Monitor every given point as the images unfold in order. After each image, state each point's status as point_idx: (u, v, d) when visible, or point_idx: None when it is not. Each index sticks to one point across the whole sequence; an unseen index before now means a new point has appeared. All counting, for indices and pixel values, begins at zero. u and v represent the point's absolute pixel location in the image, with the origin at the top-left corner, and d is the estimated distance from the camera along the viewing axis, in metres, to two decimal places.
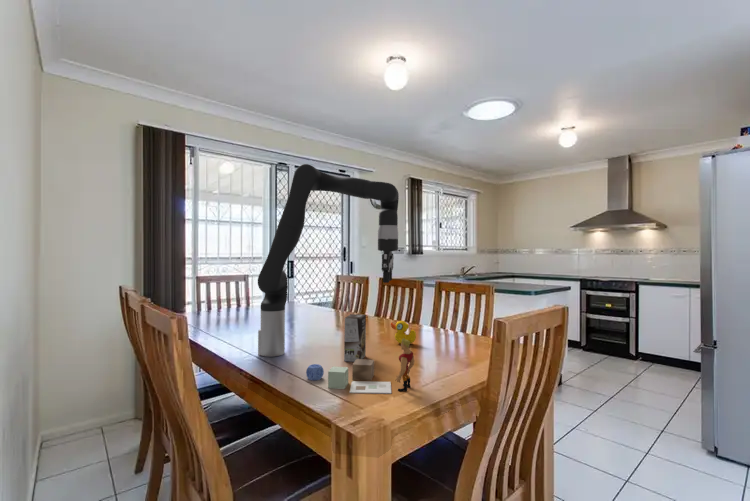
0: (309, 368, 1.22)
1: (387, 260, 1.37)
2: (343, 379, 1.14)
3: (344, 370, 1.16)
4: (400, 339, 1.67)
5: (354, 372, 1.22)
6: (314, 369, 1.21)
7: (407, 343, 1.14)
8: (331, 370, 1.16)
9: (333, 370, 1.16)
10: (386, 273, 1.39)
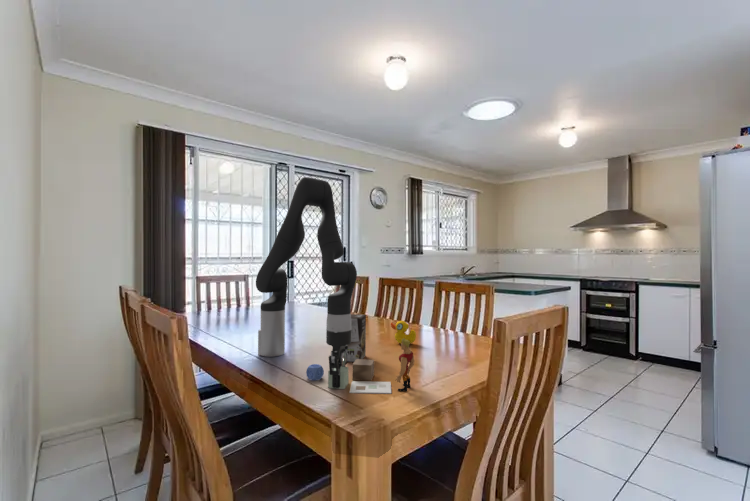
0: (309, 368, 1.22)
1: (335, 364, 1.11)
2: (343, 379, 1.14)
3: (344, 370, 1.16)
4: (400, 339, 1.67)
5: (354, 372, 1.22)
6: (314, 369, 1.21)
7: (407, 343, 1.14)
8: None
9: None
10: (336, 377, 1.13)
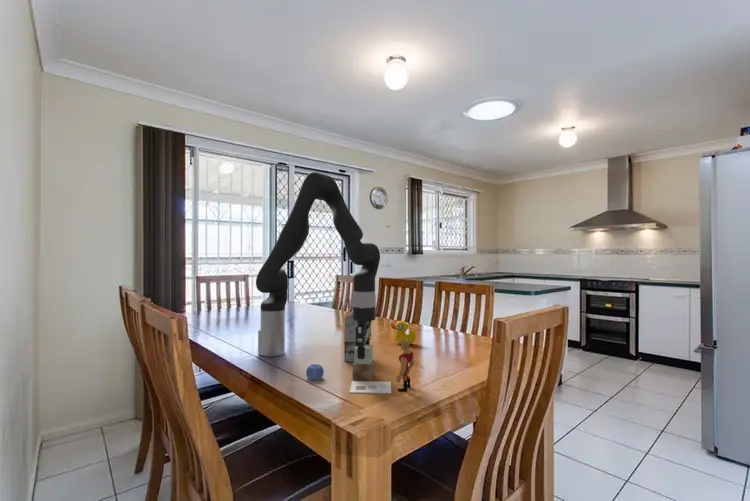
0: (309, 368, 1.22)
1: (362, 334, 1.18)
2: (368, 355, 1.22)
3: (369, 347, 1.24)
4: (400, 339, 1.67)
5: (354, 372, 1.22)
6: (314, 369, 1.21)
7: (407, 343, 1.14)
8: (357, 347, 1.24)
9: None
10: (361, 348, 1.20)
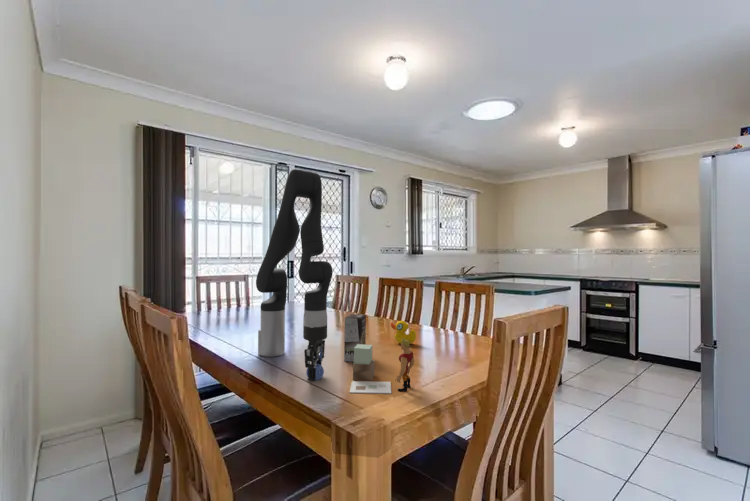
0: None
1: (311, 357, 1.17)
2: (367, 355, 1.22)
3: (369, 347, 1.24)
4: (400, 339, 1.67)
5: (355, 372, 1.22)
6: None
7: (407, 343, 1.14)
8: (356, 347, 1.24)
9: (358, 347, 1.24)
10: (311, 370, 1.19)
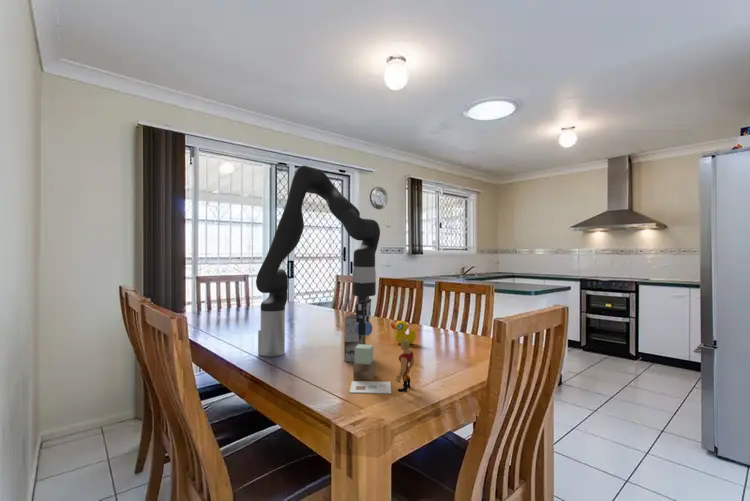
0: None
1: (362, 312, 1.18)
2: (368, 355, 1.22)
3: (370, 347, 1.24)
4: (400, 339, 1.67)
5: (355, 373, 1.22)
6: None
7: (407, 343, 1.14)
8: (357, 347, 1.24)
9: (359, 347, 1.24)
10: (362, 325, 1.21)
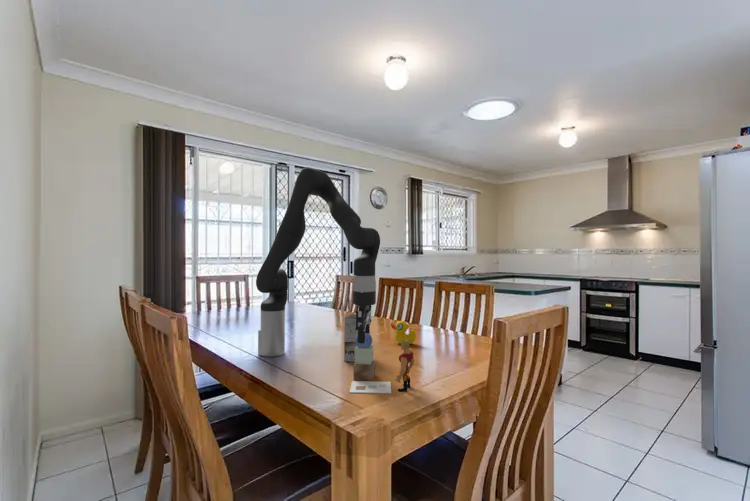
0: None
1: (362, 318, 1.18)
2: (369, 355, 1.22)
3: (370, 347, 1.24)
4: (400, 339, 1.67)
5: (355, 373, 1.22)
6: None
7: (407, 343, 1.14)
8: (358, 347, 1.24)
9: None
10: (361, 333, 1.20)
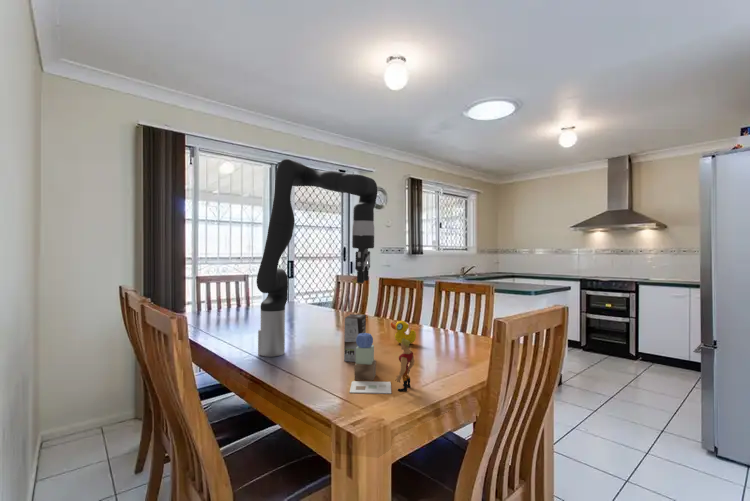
0: (359, 336, 1.24)
1: (361, 258, 1.26)
2: (369, 355, 1.22)
3: (370, 347, 1.24)
4: (400, 339, 1.67)
5: (356, 373, 1.22)
6: (365, 337, 1.23)
7: (407, 343, 1.14)
8: (358, 347, 1.24)
9: None
10: (360, 272, 1.28)
